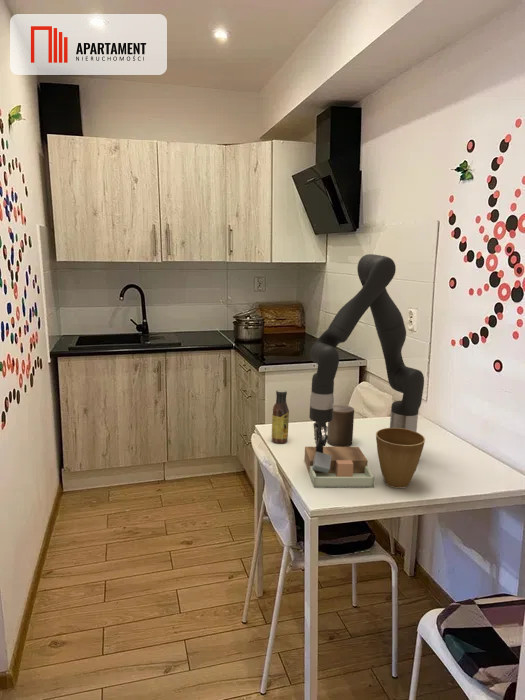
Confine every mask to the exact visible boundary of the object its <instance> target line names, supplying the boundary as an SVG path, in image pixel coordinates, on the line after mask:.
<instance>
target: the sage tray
mask: <svg viewBox="0 0 525 700" xmlns="http://www.w3.org/2000/svg"><path fill="white" fill-rule="evenodd" d="M312 467H313V466H310V474H309V473H308V474H309V478H310V481H311V483H312V487H313V488H324V489H325V488H331V489H332V488H339V487H340V488H339V489H341V488H342V487H343V488H345V489H346V488H351V489H352V488H360V489H361V488H366V489H367V488H371V489H372V488H375V484H376V482H375V481H376V478H375V476H374V475H373V472H372V471H371V469H370V468H369V466H368V465H367V466H365V472H364V473H353V477H336V475H335V473H315V471H314V470H313V469H312Z"/></svg>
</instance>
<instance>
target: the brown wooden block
mask: <svg viewBox="0 0 525 700" xmlns="http://www.w3.org/2000/svg"><path fill="white" fill-rule="evenodd" d="M315 453H316V446H304V459H303V461H304V463H305V466H306V469H307V472H308V474H310V466H313V460H314V455H315ZM323 453H324V454H328V455H331V464H330V470H329V471H328V473H335V469H336V460H351V461H352V462H353V473H364V472H365V466H368V458H366V456H365V454H364V453H363V451H362V450H361V448H360V447H359V446H347V447H338V446H323ZM314 471H315V473H324V472H320V471H317V470H314Z"/></svg>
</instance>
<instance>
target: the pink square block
mask: <svg viewBox="0 0 525 700" xmlns="http://www.w3.org/2000/svg"><path fill="white" fill-rule="evenodd" d="M335 475H336V477H353V462H352V461H351V460H336V469H335Z"/></svg>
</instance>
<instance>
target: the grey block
mask: <svg viewBox="0 0 525 700" xmlns="http://www.w3.org/2000/svg"><path fill="white" fill-rule="evenodd" d="M330 464H331V455H328V454H324V453H321V452H316V453H315V455H314V460H313V467H312V469H313V470H317V471H320V472H324V473H328V471H329V470H330Z"/></svg>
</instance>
